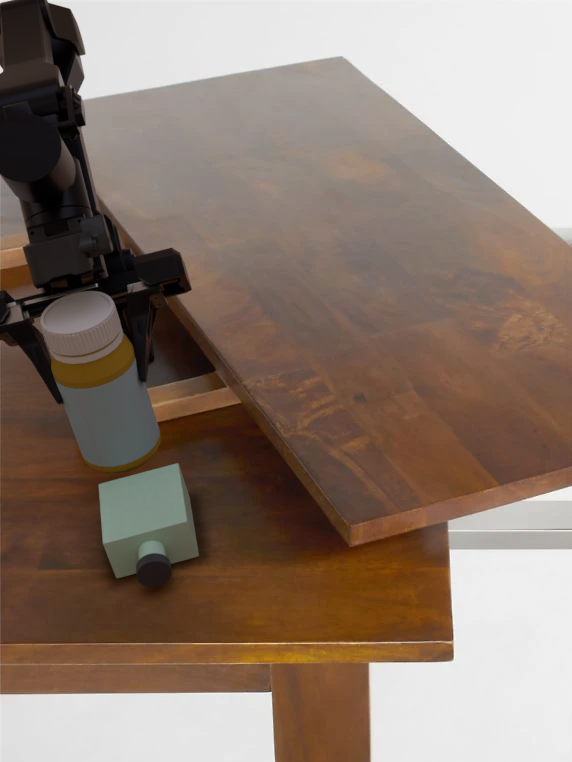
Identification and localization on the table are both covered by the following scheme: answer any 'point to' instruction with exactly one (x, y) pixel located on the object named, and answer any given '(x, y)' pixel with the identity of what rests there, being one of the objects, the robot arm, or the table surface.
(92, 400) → the bottle
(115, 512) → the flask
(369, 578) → the table surface
